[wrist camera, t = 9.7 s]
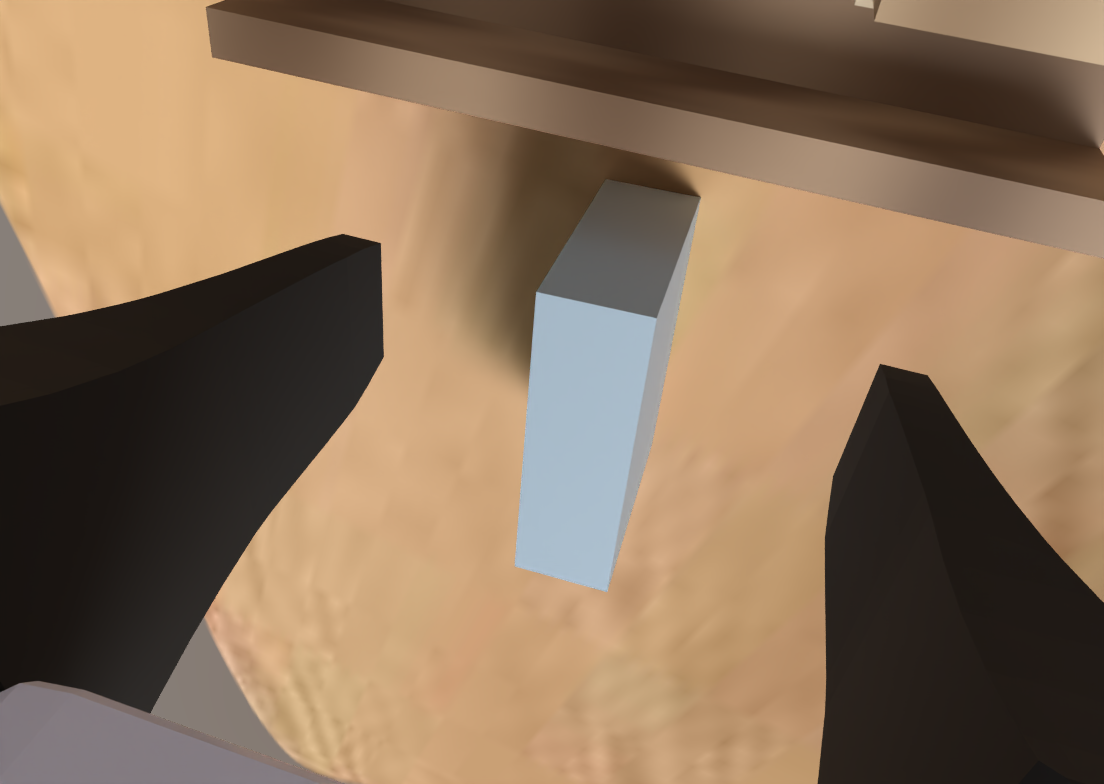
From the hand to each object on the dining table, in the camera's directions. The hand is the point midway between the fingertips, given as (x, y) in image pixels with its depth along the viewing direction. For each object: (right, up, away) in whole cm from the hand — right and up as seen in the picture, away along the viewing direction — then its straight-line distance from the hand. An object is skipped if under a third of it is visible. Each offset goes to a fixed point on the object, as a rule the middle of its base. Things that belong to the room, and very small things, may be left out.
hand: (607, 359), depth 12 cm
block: (+1, +1, +11) cm, 11 cm away
